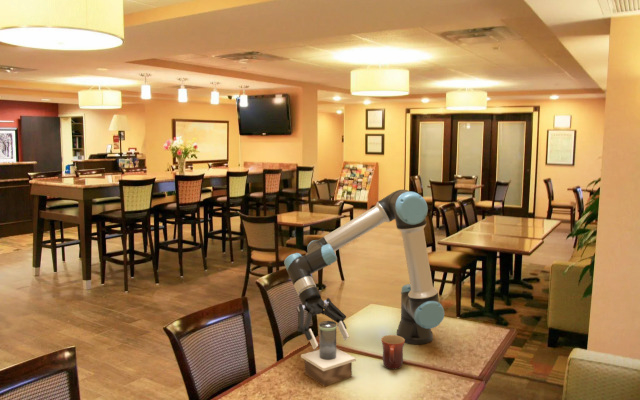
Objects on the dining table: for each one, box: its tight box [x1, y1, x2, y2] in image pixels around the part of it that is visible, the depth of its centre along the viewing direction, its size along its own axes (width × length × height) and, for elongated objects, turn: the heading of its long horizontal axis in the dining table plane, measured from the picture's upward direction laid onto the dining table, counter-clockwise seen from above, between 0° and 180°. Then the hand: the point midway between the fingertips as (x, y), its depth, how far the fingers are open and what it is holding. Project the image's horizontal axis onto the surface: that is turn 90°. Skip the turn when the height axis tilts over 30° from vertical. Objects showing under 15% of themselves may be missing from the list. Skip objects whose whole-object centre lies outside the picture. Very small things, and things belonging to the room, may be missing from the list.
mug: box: [380, 334, 405, 370], centre depth 190 cm, size 12×9×10 cm
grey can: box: [318, 320, 338, 360], centre depth 183 cm, size 6×6×12 cm
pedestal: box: [300, 347, 357, 387], centre depth 184 cm, size 14×14×7 cm
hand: (331, 343), depth 181 cm, fingers open, 13 cm apart
